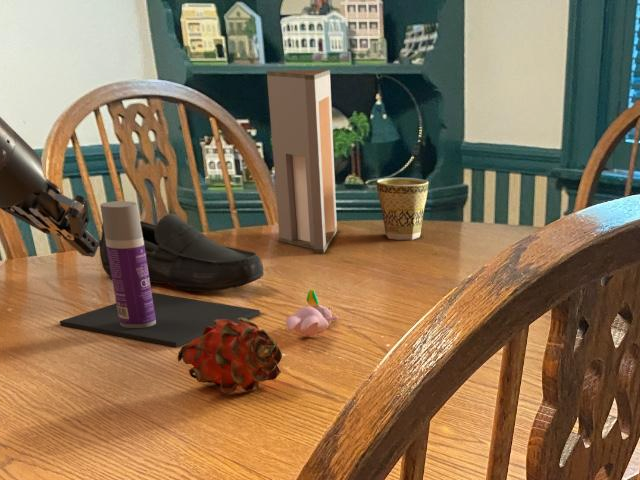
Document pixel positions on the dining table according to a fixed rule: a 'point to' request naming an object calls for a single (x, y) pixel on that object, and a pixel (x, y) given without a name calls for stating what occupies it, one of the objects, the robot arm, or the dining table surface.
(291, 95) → the cabinet
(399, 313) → the dining table surface
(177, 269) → the loafer
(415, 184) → the ceramic cup
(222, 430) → the dining table surface
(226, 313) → the mat
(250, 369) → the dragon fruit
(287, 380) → the dining table surface
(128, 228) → the container
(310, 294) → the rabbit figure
